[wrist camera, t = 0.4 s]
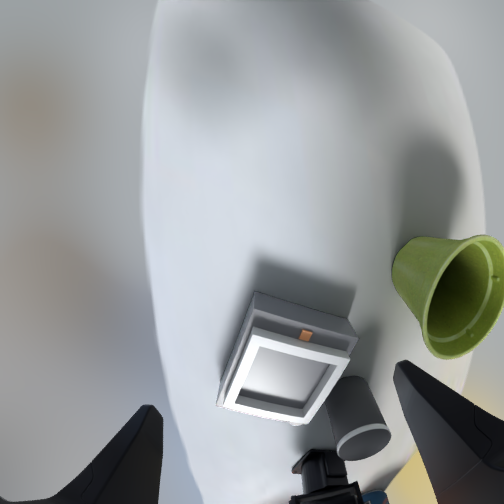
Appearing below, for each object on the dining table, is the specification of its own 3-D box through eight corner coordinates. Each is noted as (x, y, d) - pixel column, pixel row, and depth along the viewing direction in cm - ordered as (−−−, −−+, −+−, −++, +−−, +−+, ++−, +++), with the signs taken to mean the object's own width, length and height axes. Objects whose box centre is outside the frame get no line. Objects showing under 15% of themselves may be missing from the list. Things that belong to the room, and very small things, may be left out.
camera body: (300, 402, 26) (305, 433, 22) (220, 383, 26) (213, 414, 21) (347, 319, 24) (363, 345, 19) (254, 291, 23) (253, 315, 19)
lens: (353, 410, 27) (371, 460, 19) (316, 405, 26) (327, 460, 19) (376, 379, 25) (401, 429, 18) (337, 372, 25) (357, 427, 17)
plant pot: (458, 222, 21) (519, 239, 13) (442, 310, 23) (490, 350, 15) (382, 214, 22) (439, 230, 13) (368, 315, 24) (407, 368, 15)
